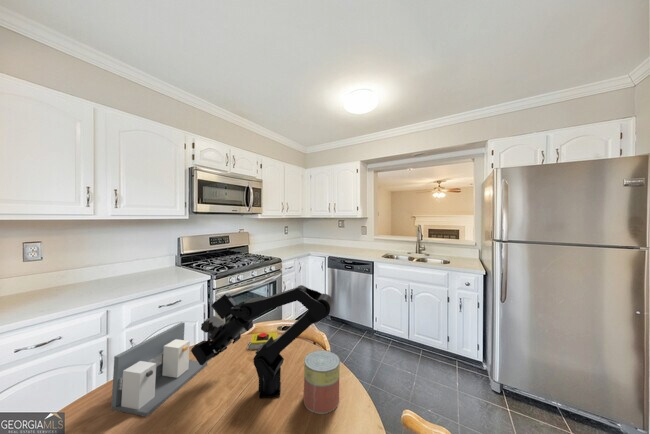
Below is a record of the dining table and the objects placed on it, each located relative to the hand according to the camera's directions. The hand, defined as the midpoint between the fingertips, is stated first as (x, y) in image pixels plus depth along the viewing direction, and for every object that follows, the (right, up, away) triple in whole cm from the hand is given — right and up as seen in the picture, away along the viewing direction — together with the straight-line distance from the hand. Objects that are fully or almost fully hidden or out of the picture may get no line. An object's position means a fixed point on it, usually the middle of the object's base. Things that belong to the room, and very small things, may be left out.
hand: (203, 358), depth 79 cm
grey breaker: (-13, -5, -12) cm, 18 cm away
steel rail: (-15, -1, -2) cm, 15 cm away
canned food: (+41, -8, -8) cm, 43 cm away
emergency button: (+15, -9, +26) cm, 31 cm away
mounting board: (-11, -7, -3) cm, 13 cm away
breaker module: (-10, -6, +2) cm, 12 cm away
